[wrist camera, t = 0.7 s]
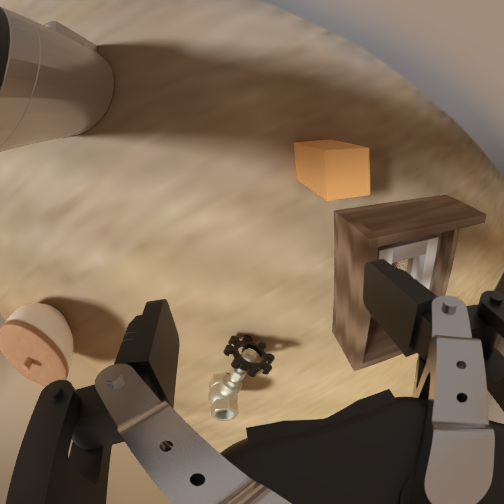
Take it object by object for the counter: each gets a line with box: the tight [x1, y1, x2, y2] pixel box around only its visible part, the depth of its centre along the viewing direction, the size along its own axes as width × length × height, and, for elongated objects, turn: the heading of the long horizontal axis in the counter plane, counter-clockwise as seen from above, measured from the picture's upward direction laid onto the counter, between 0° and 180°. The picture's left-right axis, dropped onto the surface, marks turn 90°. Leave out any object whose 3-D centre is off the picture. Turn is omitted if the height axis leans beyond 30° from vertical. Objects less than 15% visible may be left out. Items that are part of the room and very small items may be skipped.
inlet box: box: [332, 195, 486, 371], centre depth 32 cm, size 18×18×8 cm
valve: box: [208, 335, 275, 421], centre depth 36 cm, size 7×7×12 cm
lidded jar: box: [0, 303, 74, 386], centre depth 27 cm, size 11×11×9 cm
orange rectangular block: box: [293, 139, 370, 201], centre depth 25 cm, size 4×4×8 cm
